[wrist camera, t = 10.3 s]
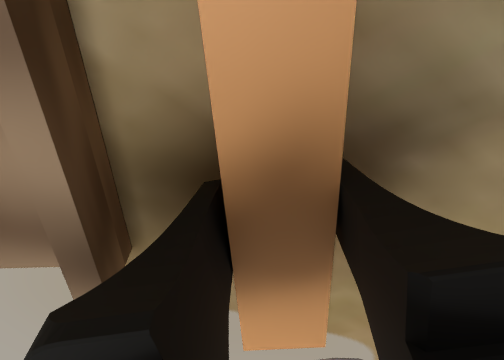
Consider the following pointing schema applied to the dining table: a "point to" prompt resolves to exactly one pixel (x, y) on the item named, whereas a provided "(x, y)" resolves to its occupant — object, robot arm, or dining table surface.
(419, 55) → the dining table surface
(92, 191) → the tray
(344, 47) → the shaft
